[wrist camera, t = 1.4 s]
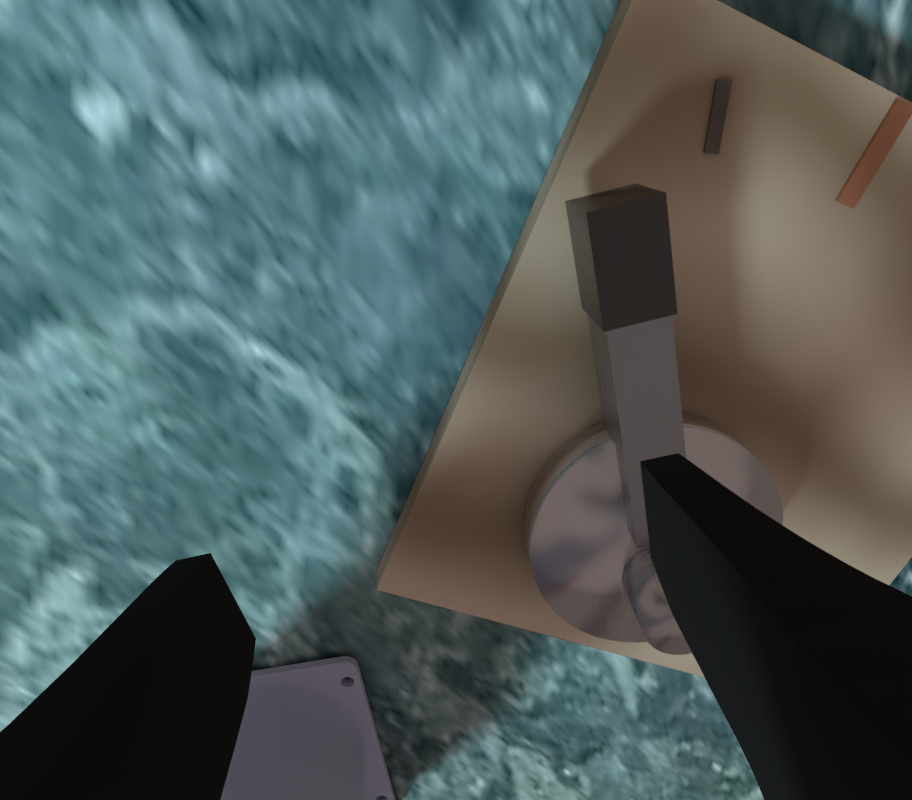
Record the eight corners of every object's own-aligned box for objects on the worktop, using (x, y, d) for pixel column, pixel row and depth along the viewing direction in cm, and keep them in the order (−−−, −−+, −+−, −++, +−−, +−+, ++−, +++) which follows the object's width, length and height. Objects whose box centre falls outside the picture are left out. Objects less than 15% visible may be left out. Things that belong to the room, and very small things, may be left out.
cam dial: (762, 581, 23) (821, 660, 20) (545, 630, 24) (568, 717, 20) (742, 153, 17) (823, 163, 14) (451, 226, 18) (462, 253, 14)
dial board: (781, 678, 28) (798, 704, 26) (377, 567, 24) (376, 592, 23) (1126, 230, 21) (1171, 237, 19) (632, -27, 17) (649, -38, 16)
